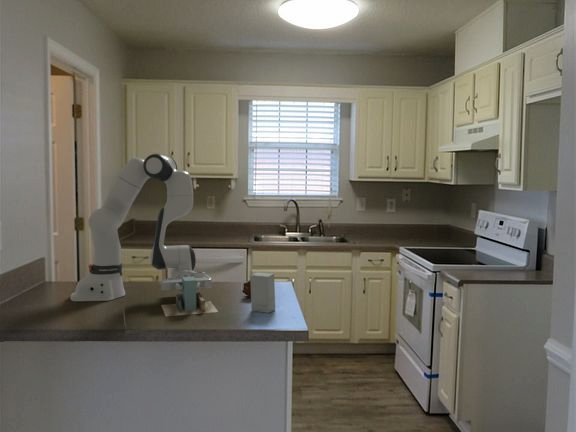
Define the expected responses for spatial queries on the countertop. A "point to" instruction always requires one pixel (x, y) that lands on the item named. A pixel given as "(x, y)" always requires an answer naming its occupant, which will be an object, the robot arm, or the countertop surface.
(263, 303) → the skincare box
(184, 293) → the book
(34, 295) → the countertop surface
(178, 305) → the metal bookend
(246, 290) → the dragon fruit
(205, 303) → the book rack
